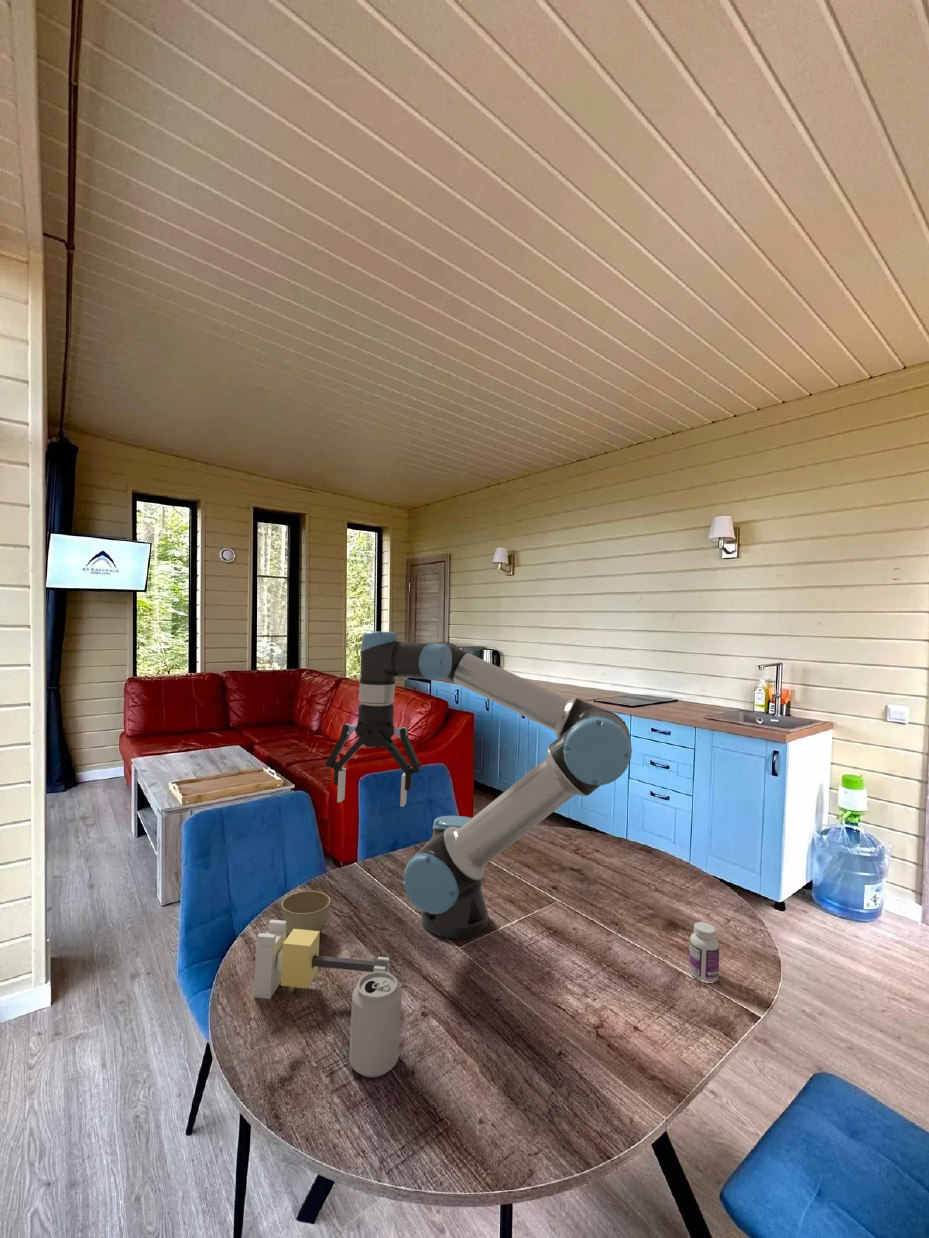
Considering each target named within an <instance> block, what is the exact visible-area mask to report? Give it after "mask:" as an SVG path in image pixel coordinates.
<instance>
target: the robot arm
mask: <svg viewBox="0 0 929 1238" xmlns="http://www.w3.org/2000/svg"><path fill="white" fill-rule="evenodd" d="M361 639H362V640H361V647H360V649H361V650H360V673H359V674H360V675H359V676H360V677H359V678H360V679H359V687H358V688H359V689H358V690H359V691H358V692H359V693H358V701H359V702H360V703H359V704H358V711H357V723H356V724H357V725H354V724H351V723H350V722H348V723H345V724H344V725H343V726H342V728H341V734H340V736H339V739H337V742H336V744H335V746H334V748H333V749H332V751H331V753H330V754H329V757H328V759H327V760H326V762H325V767H327V768H331V769H332V770H333V785H334V786H337V796H336V797H337V798H336V799H337V800H336V802H337V803H341V802H343V801H344V800H345V797H346V796H345V795H346V794H345V793H346V792H345V791H346V776H347V775H346V774H347V773H346V771H347V769H346V768H343V767H344V765H346V764H347V762H348V761H349V760H350V759H351V758H352V756H354V755H355V754H356V752H357V751H358V750H359V749H360V748H361V747H362V746H364V747H366V748H377V749H381V748H383V747H384V748H385V750H386V751H387V752H388V753H389V754H390V755H391V757H392V758H393V759H394V761H395V762H396V763H397V765H398V766H399V767H400V769H401V770H402V771H403V773H402V775H401V777H400V778H401V779H400V780H401V781H400V799H399V800H400V801H399V802H400V805H399V806H400V807H399V808H402V807H403V808H404V807H405V805H407V795H408V793H407V792H408V791H410V790H411V788H412V786H413V774H417V773H420V770H421V769H422V765H421V763H420V761H419V758H418V756H417V754H416V752H415V750H414V749H415V748H414V747H413V744H412V742H411V740H410V738H409V729H408V727H407V726H403V727H395V726H394V713H395V711H394V710H395V705H394V704H392V703H394V702H395V689H396V687H395V686H396V677H397V678H411V679H421V680H428V681H432V680H435V681H436V680H440V681H442V680H445V679H446V680H448V681H449V682H452V683H455V684H456V685H459V686H461V687H462V688H465V689H467V690H469V691H471V692H474V693H475V694H477V695H479V696H481V697H483V698H486V699H488V700H489V701H492V702H493V703H496V704H497V705H500V706H503V707H504V708H507V709H508V710H511V711H512V712H514V713H517V714H518V715H520V716H522V717H524V718H527V719H529V720H531V721H532V722H535V723H537V724H538V725H541V726H543V727H545V728H547V729H549V730H551V731H553V732H554V733H555V735H556V737H557V738H556V739H555V740H554V741H553V742H552V743H550V744H549V745H548V746H547V748H546V749H547V750H546V751H547V753H546V758H544V759H543V760H542V761H541V762H540V763H539V764H537V765H536V766H534V767H533V768H532V769H531V770H530V771H529V772H527V773H526V774H524V775H523V776H522V777H521V778H520V779H519V780H517V781H516V782H514V784H512V785H511V786H510V787H508V788H507V789H506V790H505V791H504V792H502V793H501V794H500V795H499V796H498V797H497V798H495V799H493V800H492V801H491V802H490V803H489V804H488V805H487V806H485V807H484V808H483V809H481V810H480V811H479V812H478V813H476V814H475V815H474V816H473V817H469V816H462V815H443V816H439V817H436V818H435V819H434V820H433V822H432V823H433V824H432V827H431V829H432V836H431V839H429V840H428V841H427V842H426V843H425V844H424V846H422V848H420V849H419V850H418V852H417V853H415V855H413V856H412V857H411V858H410V859H409V861H408V862H407V864H406V866H405V868H404V872H403V880H402V881H403V888H404V891H405V894H406V896H407V898H408V899H409V901H410V902H411V903H412V904H413V905H414V906H415V907H416V908H417V909H418V910H420V911H421V918H420V919H421V924H422V926H423V928H424V929H426V931H427V932H429V933H431V934H432V935H434V936H437V937H439V938H445V939H454V940H458V939H459V940H460V939H462V940H463V939H469V938H472V937H476V936H478V935H479V934H481V933H482V932H484V931H485V930H486V928H487V926H488V920H489V919H488V918H489V917H488V916H489V914H488V908H487V904H486V900H485V896H484V894H483V889H482V878H483V877H484V875H485V866H486V865H487V864H489V863H490V862H491V861H493V859H494V858H496V857H498V856H499V855H500V854H501V853H502V852H504V851H505V850H506V849H508V848H509V847H510V846H511V845H513V844H514V843H516V842H517V841H518V840H519V839H520V838H522V837H523V836H524V835H525V834H527V833H528V832H529V831H531V830H532V829H533V828H535V827H536V826H537V825H538V824H540V823H541V822H542V821H544V820H545V819H546V818H547V817H548V816H550V815H551V814H553V813H554V812H555V811H556V810H558V809H559V808H561V807H562V806H563V805H564V804H565V803H567V802H568V801H569V800H571V798H573V797H574V796H581V797H589V795H591V794H592V793H593V792H595V791H596V790H598V789H599V788H600V787H601V786H604V785H608V784H611V783H612V782H615V781H616V780H618V779H619V778H620V777H621V776H622V775H623V774H624V773H625V772H626V770H627V769H628V766H629V765H630V762H631V759H632V753H633V752H632V751H633V748H632V742H631V733H630V730H629V728H628V726H627V724H626V722H625V721H624V720H623V719H622V718H621V716H619V715H618V714H616V713H615V712H613V711H611V710H608V709H606V708H602V707H599V706H597V705H595V704H592V703H590V702H588V701H587V702H586V701H585V700H582V699H581V698H578V697H573V698H566V697H564V696H562V695H560V694H558V693H556V692H554V691H552V690H549V689H547V688H545V687H542V686H540V685H539V684H536V683H534V682H532V681H530V680H529V679H525V678H523V677H521V676H519V675H517V674H515V673H512V672H510V671H508V670H506V669H503V668H501V667H499V666H497V665H495V664H492V662H488V661H486V660H484V659H482V658H480V657H478V656H477V655H473V654H471V653H469V652H466V651H464V650H463V649H461V648H460V647H459V646H457V644H455V643H452V642H449V641H439V642H414V641H413V642H411V641H409V642H408V641H407V642H406V641H400V640H399V639H398V634H397V632H393V631H376V630H374V631H373V630H372V631H371V630H368V631H365V632H364V633H363V634H362V638H361ZM398 640H399V641H398ZM354 732H355V734H356V735H357V736H358V739H357V741H356V742H355V743H354V744H353V745H352V746H351V747H350V749H349V750H348V751H346V753H345V754H344V755H343V756H342V757H341V758H340V759H339V761H337V760H338V758H339V756H340V754H341V752H342V749H343V748H344V746H345V744H346V743H347V741H348V739H349V737H350V736H351V735H353V733H354ZM394 735H397V738H399V739H400V742H401V744H402V746H403V749H404V751H405V754H406V756H407V758H408V760H407V759H406V758H405V757H404V755H403V754H402V752H401V750H399V748H398V747H397V746H396V744H395V742H394V741H393V740H392V737H393V736H394ZM408 761H409V762H408Z"/></svg>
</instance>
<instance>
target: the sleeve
mask: <svg viewBox="0 0 929 1238" xmlns="http://www.w3.org/2000/svg"><path fill="white" fill-rule="evenodd" d="M320 931H321V930H320ZM320 931H312V930H302V929H293V930H292V932H291V933H290V934H289V935H288V936H286V940H285V941H284V943H283V952H282V972H281V983H280V986H281V987H292V988H301V989H309V988H310V986H311V984H312V982H313V981H314V979H315V977H316V976H317V974H318V972H319V967H316V966H312V958H313V957H314V955H316V956H320V955H319V954H320V937H321V936H320V933H321V932H320Z"/></svg>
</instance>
